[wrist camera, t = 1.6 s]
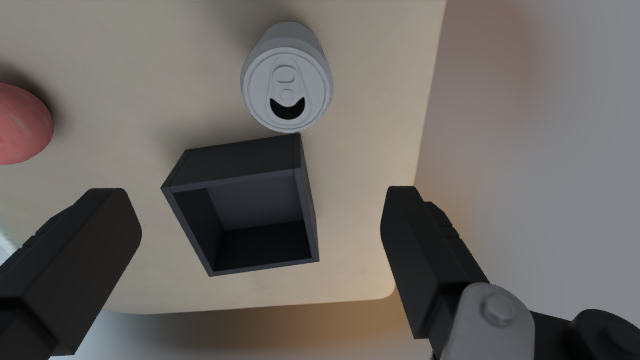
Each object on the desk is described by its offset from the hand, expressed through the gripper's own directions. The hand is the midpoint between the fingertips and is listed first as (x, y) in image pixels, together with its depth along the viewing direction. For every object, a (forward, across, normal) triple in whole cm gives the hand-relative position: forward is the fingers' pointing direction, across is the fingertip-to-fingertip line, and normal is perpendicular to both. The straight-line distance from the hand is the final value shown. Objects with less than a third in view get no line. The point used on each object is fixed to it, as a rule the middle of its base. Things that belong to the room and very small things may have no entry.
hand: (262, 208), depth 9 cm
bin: (+24, +4, +16) cm, 29 cm away
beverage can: (+24, 0, 0) cm, 24 cm away
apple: (+24, +26, +6) cm, 36 cm away
